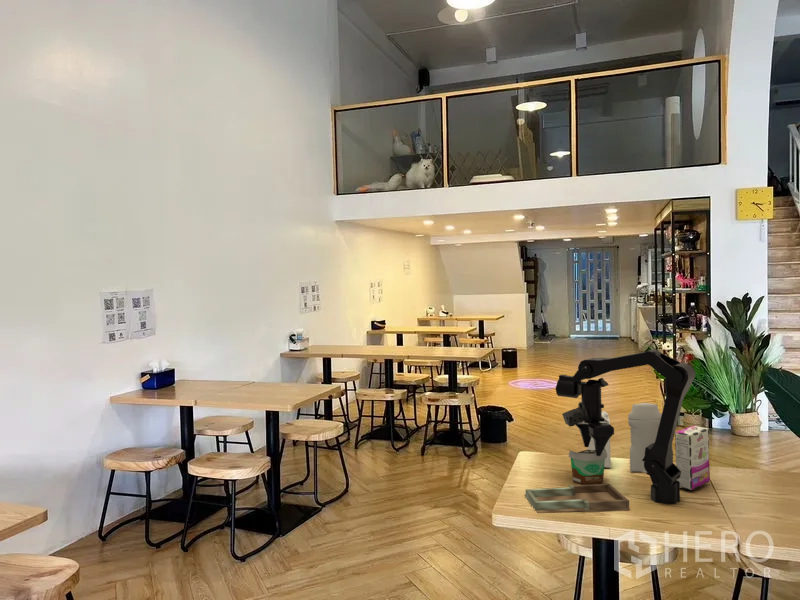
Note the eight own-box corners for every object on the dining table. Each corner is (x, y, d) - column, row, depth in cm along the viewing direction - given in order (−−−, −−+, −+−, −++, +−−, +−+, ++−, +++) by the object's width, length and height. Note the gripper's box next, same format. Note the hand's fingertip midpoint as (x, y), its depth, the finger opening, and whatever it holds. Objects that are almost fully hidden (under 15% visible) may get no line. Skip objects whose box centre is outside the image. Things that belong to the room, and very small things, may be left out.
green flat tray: (609, 492, 167) (609, 483, 167) (629, 510, 154) (629, 500, 154) (524, 496, 166) (524, 487, 165) (537, 514, 153) (537, 505, 152)
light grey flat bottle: (659, 468, 186) (659, 401, 185) (665, 472, 182) (664, 403, 181) (626, 468, 187) (625, 401, 186) (631, 473, 183) (630, 404, 182)
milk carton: (587, 466, 190) (587, 409, 189) (587, 460, 197) (587, 404, 196) (610, 468, 188) (610, 410, 187) (610, 461, 194) (609, 405, 194)
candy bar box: (693, 477, 177) (693, 424, 177) (710, 482, 173) (710, 428, 173) (674, 486, 171) (674, 431, 170) (691, 490, 167) (691, 434, 166)
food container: (580, 489, 170) (579, 456, 169) (568, 482, 176) (568, 450, 175) (616, 484, 173) (615, 451, 173) (603, 477, 179) (603, 446, 179)
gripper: (555, 395, 182) (556, 443, 183) (576, 407, 164) (577, 462, 164) (589, 393, 183) (590, 442, 183) (614, 406, 164) (615, 460, 165)
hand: (592, 451), depth 174 cm, fingers open, 9 cm apart
